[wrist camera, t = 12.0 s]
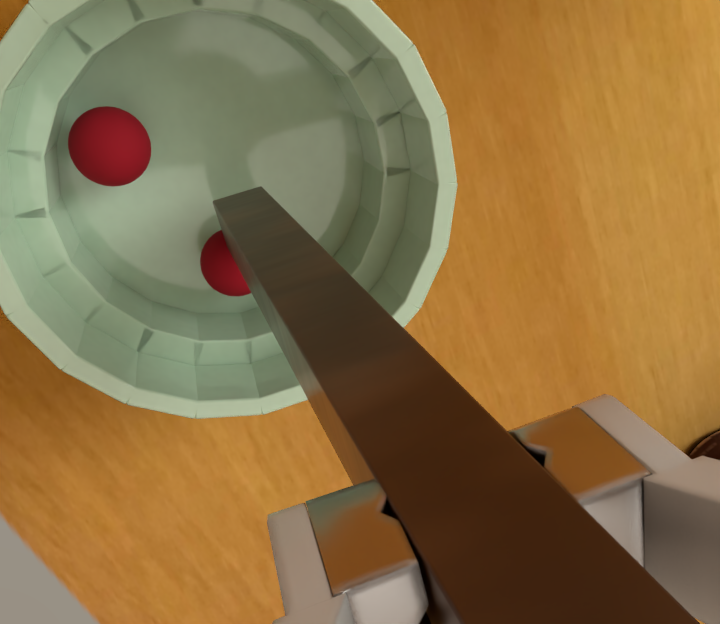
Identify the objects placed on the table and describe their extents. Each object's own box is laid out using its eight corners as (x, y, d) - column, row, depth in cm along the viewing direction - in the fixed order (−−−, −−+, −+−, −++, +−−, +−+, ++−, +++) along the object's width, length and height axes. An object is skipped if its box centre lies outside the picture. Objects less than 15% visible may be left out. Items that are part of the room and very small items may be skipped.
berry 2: (196, 298, 25) (229, 312, 23) (180, 233, 24) (213, 243, 22) (254, 277, 26) (289, 289, 25) (241, 215, 25) (276, 223, 24)
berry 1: (127, 158, 24) (69, 190, 22) (103, 89, 22) (38, 119, 21) (176, 172, 23) (118, 208, 21) (154, 100, 21) (89, 133, 19)
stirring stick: (227, 248, 23) (566, 889, 6) (211, 200, 22) (549, 772, 5) (275, 233, 23) (736, 788, 6) (261, 185, 23) (743, 664, 5)
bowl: (102, 387, 27) (86, 475, 21) (-72, 14, 20) (-156, 6, 15) (424, 285, 29) (481, 341, 24) (356, -81, 23) (414, -116, 17)
